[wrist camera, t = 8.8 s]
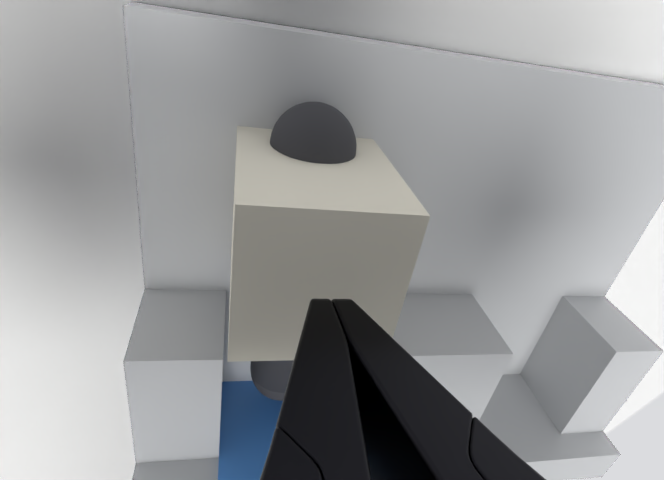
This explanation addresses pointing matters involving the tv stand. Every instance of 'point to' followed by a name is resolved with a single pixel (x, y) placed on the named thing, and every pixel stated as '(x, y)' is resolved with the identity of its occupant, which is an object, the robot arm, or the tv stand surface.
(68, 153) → the tv stand surface
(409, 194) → the cream cube with dome
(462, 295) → the grey backboard with ledge
